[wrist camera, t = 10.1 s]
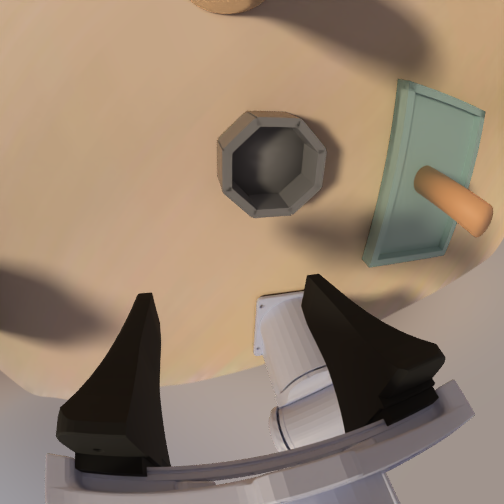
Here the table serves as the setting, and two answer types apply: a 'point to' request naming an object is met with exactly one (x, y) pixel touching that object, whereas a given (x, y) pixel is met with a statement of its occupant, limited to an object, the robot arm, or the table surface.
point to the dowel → (454, 200)
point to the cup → (270, 163)
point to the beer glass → (227, 5)
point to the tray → (407, 165)
